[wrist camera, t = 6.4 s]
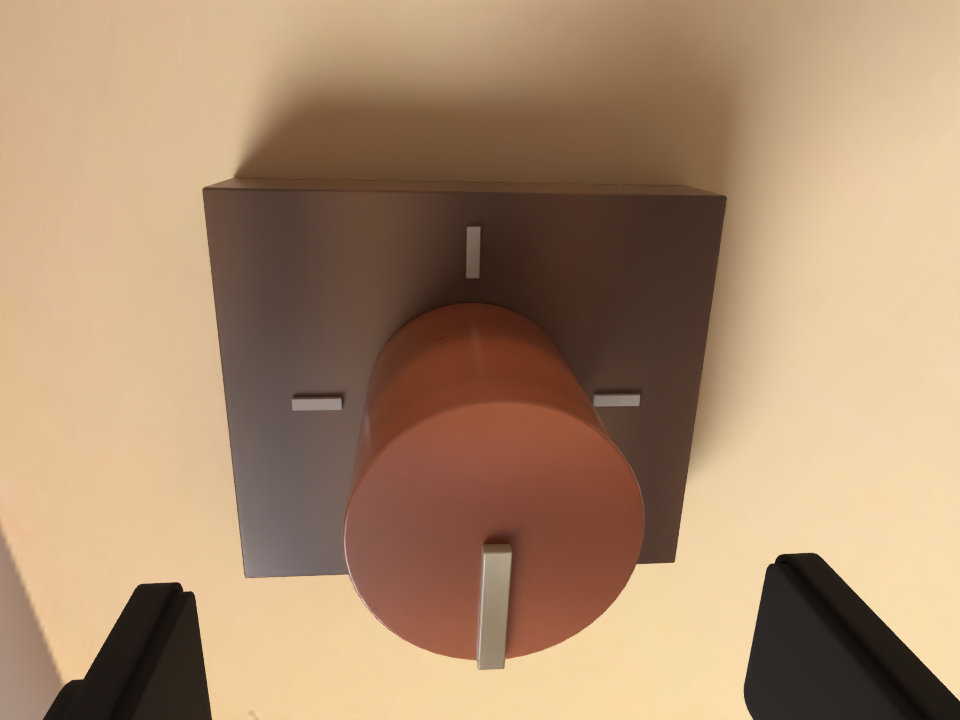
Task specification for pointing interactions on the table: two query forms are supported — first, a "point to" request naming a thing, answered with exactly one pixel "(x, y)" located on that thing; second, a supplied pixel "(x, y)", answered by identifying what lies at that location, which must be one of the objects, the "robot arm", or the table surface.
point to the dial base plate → (434, 284)
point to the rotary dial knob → (486, 491)
